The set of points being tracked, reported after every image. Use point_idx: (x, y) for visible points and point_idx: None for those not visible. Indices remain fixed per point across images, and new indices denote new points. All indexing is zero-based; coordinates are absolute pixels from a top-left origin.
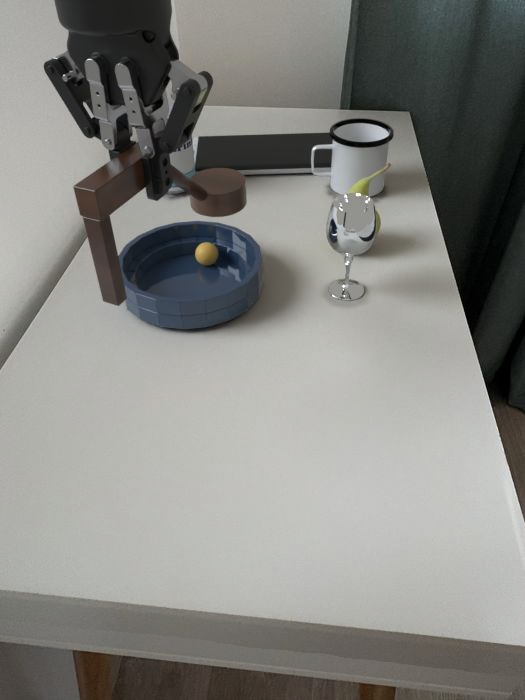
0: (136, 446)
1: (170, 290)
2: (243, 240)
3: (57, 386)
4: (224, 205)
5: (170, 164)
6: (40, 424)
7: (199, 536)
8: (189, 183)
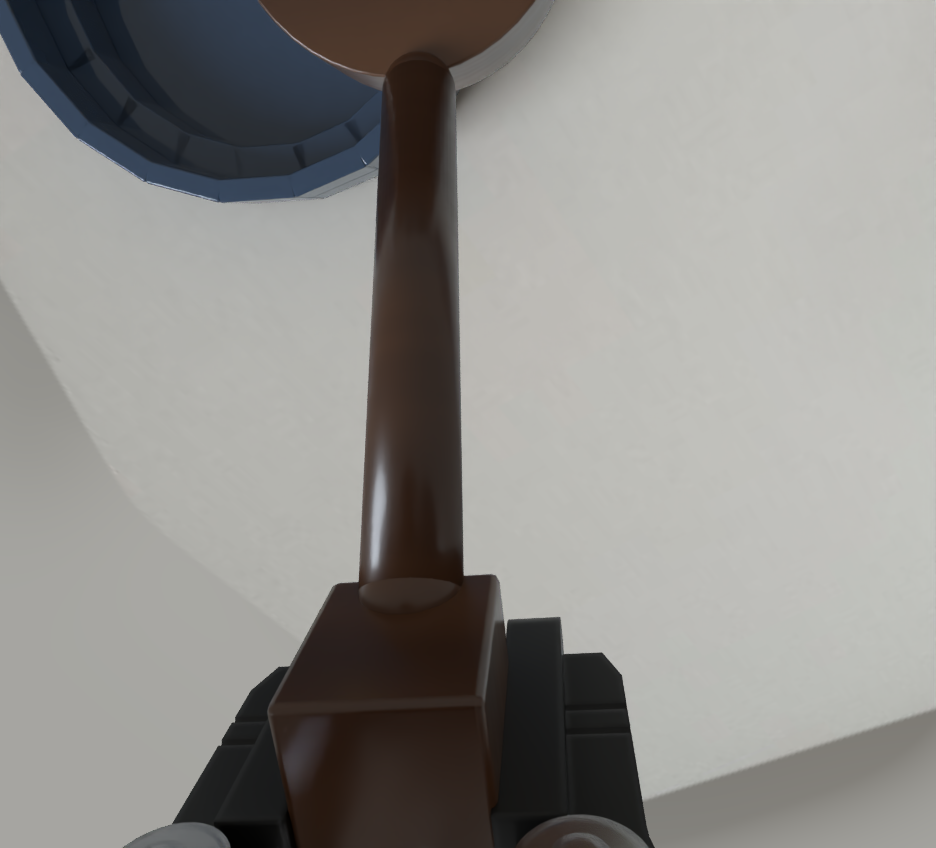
0: (541, 536)
1: (228, 30)
2: None
3: (267, 488)
4: (529, 26)
5: (634, 762)
6: (326, 583)
7: (781, 639)
8: (456, 261)
